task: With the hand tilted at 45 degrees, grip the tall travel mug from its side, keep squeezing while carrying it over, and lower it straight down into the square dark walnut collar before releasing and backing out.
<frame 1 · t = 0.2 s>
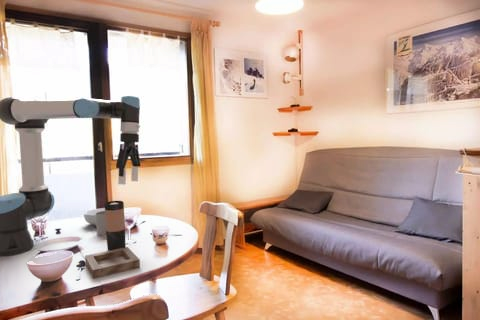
hand: (128, 182, 147), 28 cm above the table, tool pointing down, fingers open, 13 cm apart
walnut collar: (112, 265, 129), on the table
cup: (106, 232, 169), on the table
cereal bowl: (102, 224, 184), on the table
travel mug: (116, 249, 146), on the table
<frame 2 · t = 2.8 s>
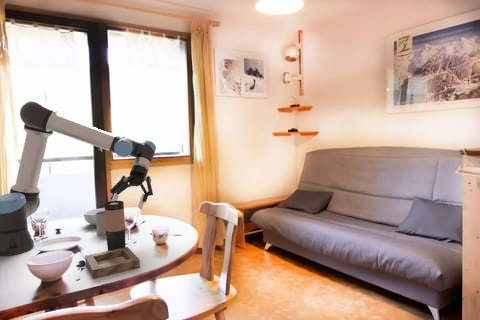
hand: (125, 207, 151), 16 cm above the table, tool tilted 45°, fingers open, 13 cm apart
nothing on the table moved.
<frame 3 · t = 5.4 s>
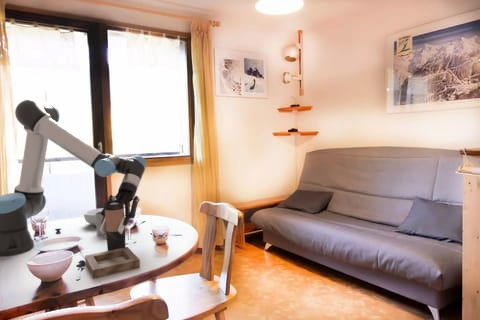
hand: (110, 231, 142), 9 cm above the table, tool tilted 45°, fingers closed on travel mug, 7 cm apart
travel mug: (116, 249, 146), on the table, touching gripper
everything else where it was.
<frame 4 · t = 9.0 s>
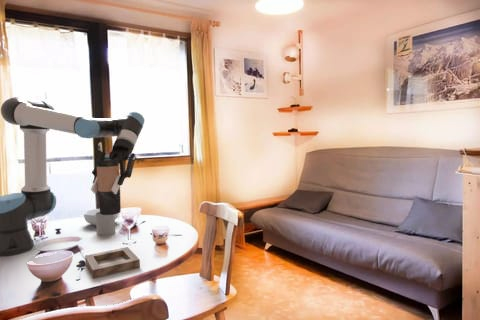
hand: (103, 191, 123), 28 cm above the table, tool tilted 45°, fingers closed on travel mug, 7 cm apart
travel mug: (110, 213, 128), point 20 cm above the table, touching gripper
everything else where it was.
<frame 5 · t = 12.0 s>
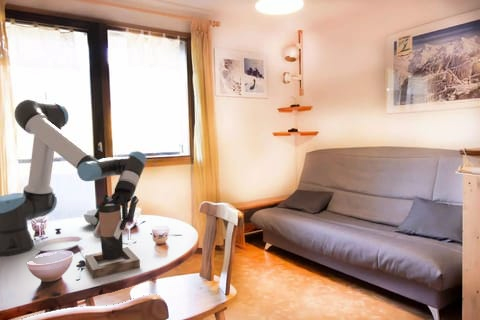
hand: (105, 236, 124), 12 cm above the table, tool tilted 45°, fingers closed on travel mug, 7 cm apart
travel mug: (112, 256, 128), point 3 cm above the table, touching gripper
everything else where it was.
when the fingers open (10 cm above the table, at t = 12.9 s): travel mug drops 1 cm, resting on walnut collar.
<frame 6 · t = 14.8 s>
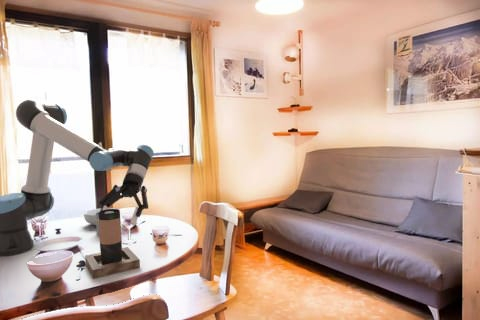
hand: (116, 222, 130), 15 cm above the table, tool tilted 45°, fingers open, 13 cm apart
travel mug: (112, 264, 129), resting on walnut collar
everything else where it was.
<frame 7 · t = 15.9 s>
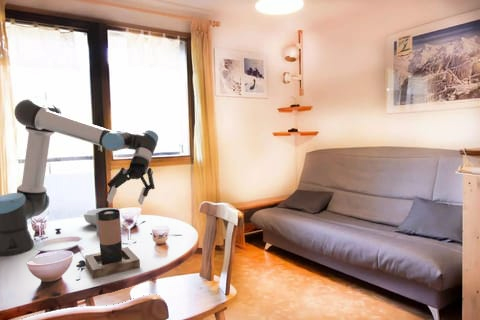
hand: (124, 202, 137), 22 cm above the table, tool tilted 45°, fingers open, 13 cm apart
nothing on the table moved.
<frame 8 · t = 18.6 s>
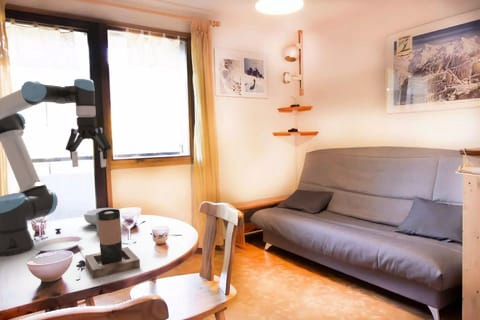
hand: (89, 166, 147), 35 cm above the table, tool pointing down, fingers open, 13 cm apart
nothing on the table moved.
at the end: travel mug 0.1 cm off-centre on the walnut collar, point 0.3 cm above the walnut collar's base; travel mug tilted 0°; the gripper is holding nothing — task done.
